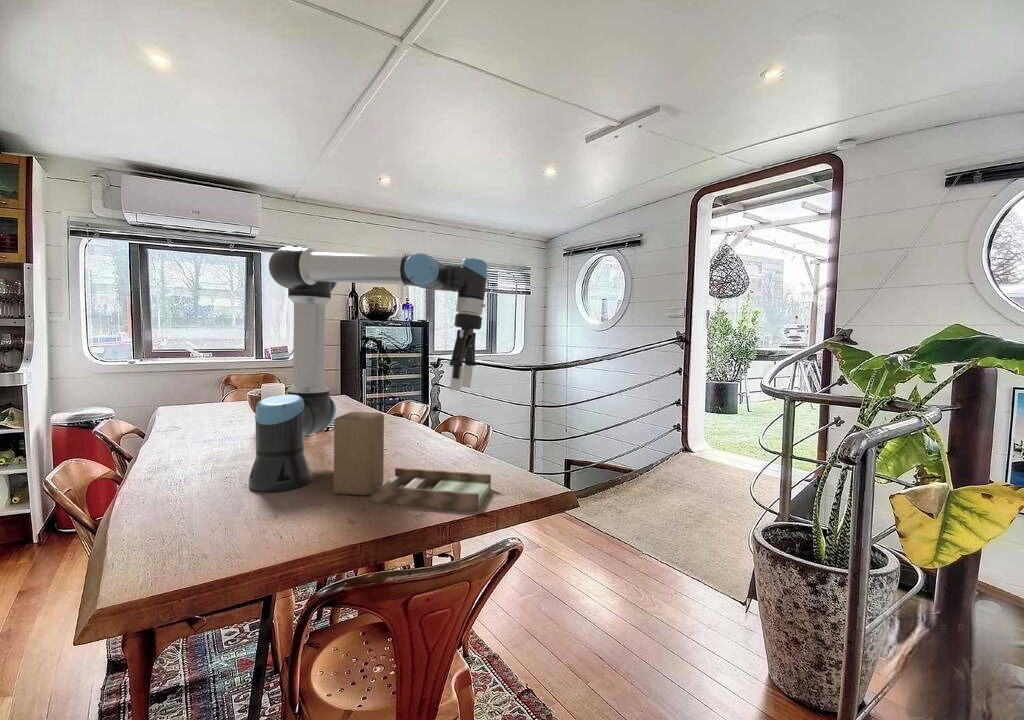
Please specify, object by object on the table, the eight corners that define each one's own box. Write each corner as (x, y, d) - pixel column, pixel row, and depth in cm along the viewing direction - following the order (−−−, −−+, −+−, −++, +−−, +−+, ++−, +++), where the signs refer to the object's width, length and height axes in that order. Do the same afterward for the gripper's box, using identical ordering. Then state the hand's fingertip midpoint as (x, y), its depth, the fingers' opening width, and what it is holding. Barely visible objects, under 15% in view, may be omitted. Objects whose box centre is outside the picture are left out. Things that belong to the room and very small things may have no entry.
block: (384, 484, 126) (385, 412, 125) (369, 497, 116) (370, 419, 115) (349, 482, 127) (350, 411, 126) (332, 494, 117) (332, 417, 116)
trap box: (370, 502, 113) (370, 486, 113) (396, 481, 129) (396, 467, 128) (477, 511, 109) (477, 494, 109) (490, 488, 125) (491, 474, 124)
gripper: (473, 311, 117) (464, 394, 117) (489, 319, 141) (481, 387, 142) (444, 308, 118) (435, 390, 118) (465, 316, 142) (458, 384, 143)
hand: (460, 388), depth 130 cm, fingers open, 13 cm apart
